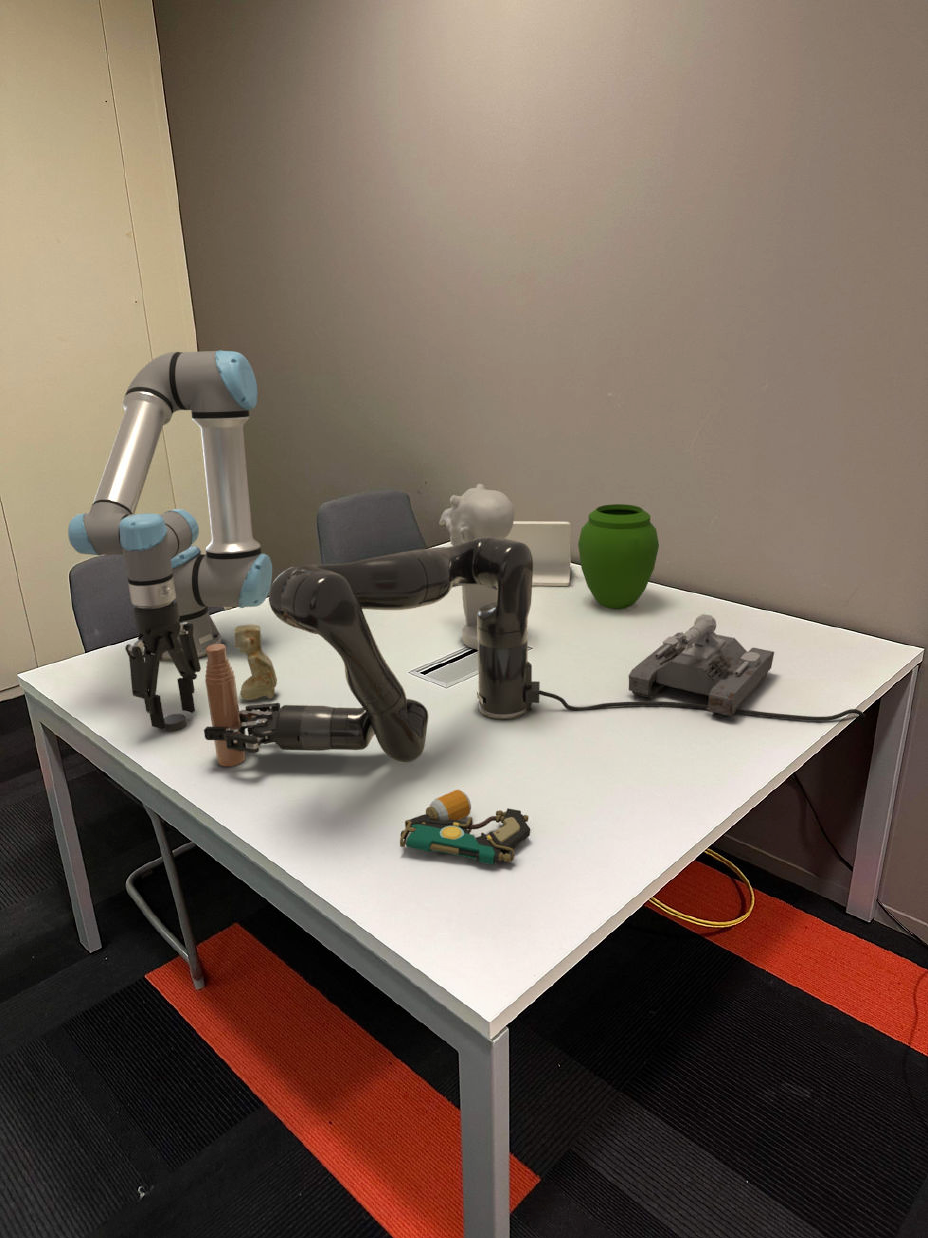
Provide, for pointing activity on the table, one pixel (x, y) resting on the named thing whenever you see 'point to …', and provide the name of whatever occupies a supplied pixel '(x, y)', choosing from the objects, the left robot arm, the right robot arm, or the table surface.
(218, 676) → the bottle
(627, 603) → the vase
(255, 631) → the sculpture
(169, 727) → the cap
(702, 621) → the toy
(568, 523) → the tablet stand
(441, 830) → the spray gun
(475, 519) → the bust sculpture
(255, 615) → the table surface
